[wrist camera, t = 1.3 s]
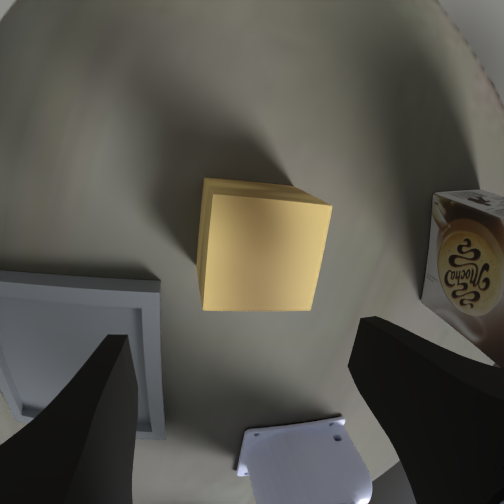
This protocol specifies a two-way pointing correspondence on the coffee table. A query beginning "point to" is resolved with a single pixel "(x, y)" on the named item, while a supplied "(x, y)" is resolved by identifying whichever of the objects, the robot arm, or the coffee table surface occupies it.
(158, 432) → the tray
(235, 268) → the cube
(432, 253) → the coffee box
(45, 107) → the coffee table surface
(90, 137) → the coffee table surface
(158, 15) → the coffee table surface
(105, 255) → the coffee table surface
